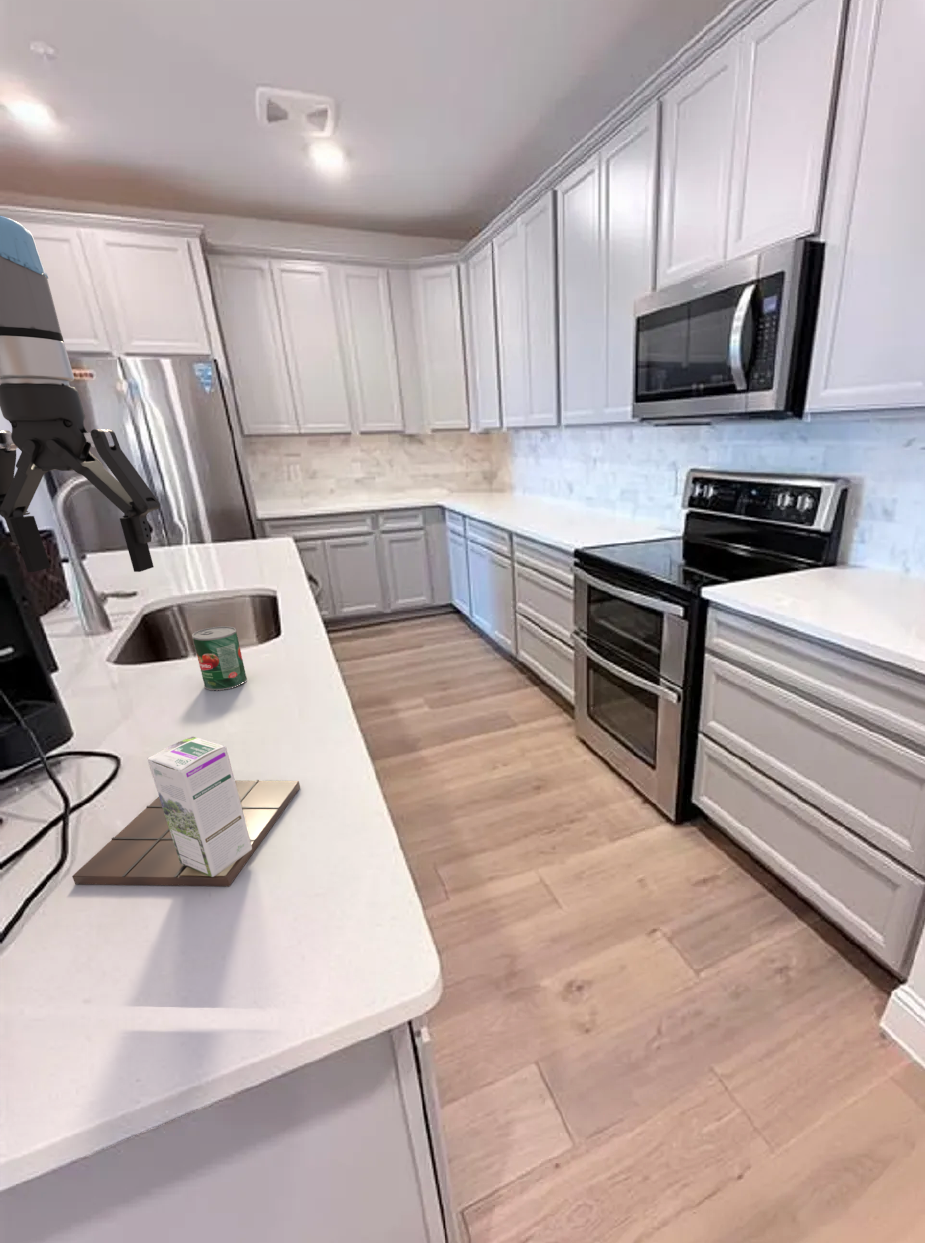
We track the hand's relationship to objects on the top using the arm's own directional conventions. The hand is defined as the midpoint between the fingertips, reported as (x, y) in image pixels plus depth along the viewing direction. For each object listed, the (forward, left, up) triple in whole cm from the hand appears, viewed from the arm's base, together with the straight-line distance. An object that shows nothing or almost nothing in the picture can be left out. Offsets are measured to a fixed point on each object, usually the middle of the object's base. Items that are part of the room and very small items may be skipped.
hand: (91, 570), depth 75 cm
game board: (+13, -11, -32) cm, 36 cm away
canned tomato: (-9, +37, -32) cm, 50 cm away
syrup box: (+19, -18, -31) cm, 40 cm away
